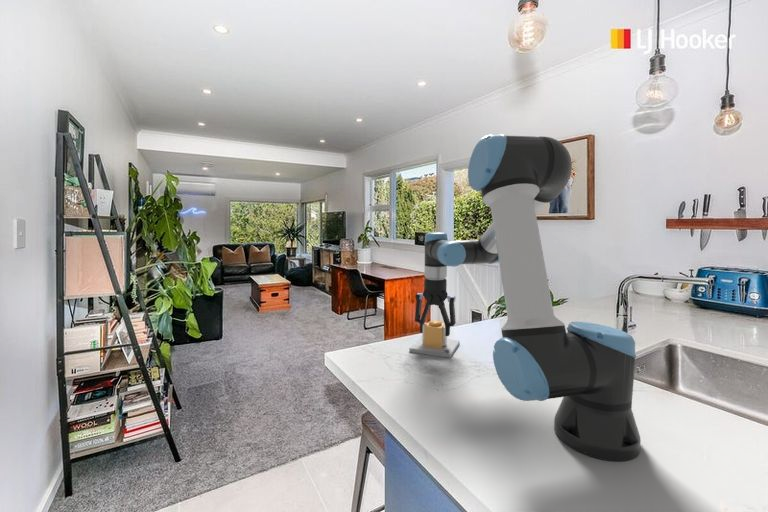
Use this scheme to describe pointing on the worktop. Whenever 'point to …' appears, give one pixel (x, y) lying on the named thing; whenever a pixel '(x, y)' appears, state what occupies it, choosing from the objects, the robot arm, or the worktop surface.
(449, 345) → the plate
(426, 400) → the worktop surface
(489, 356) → the worktop surface
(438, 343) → the single stud toy brick
